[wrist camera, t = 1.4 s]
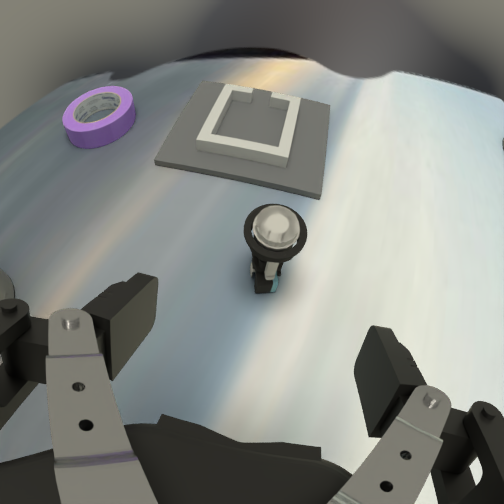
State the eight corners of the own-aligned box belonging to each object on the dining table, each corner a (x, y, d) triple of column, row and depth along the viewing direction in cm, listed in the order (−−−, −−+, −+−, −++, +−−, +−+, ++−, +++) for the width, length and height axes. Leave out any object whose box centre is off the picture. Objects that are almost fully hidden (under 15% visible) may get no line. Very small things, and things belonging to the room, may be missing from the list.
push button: (236, 241, 37) (240, 185, 28) (283, 239, 37) (300, 184, 28) (241, 298, 34) (247, 254, 25) (291, 294, 34) (315, 250, 25)
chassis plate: (155, 164, 41) (151, 149, 38) (202, 85, 50) (202, 71, 48) (319, 199, 40) (325, 184, 38) (328, 109, 50) (332, 96, 47)
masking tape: (134, 96, 49) (130, 78, 45) (138, 137, 44) (134, 118, 40) (71, 114, 46) (65, 97, 43) (67, 158, 41) (58, 140, 38)
